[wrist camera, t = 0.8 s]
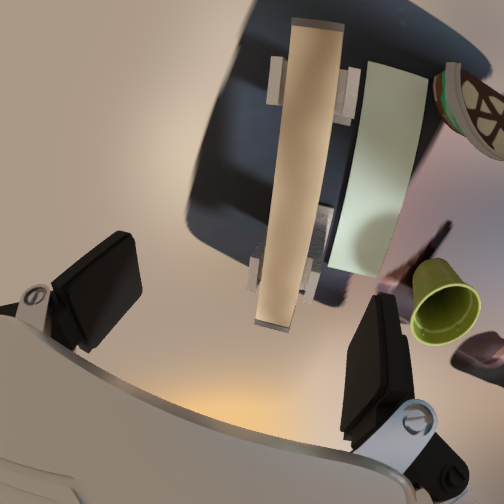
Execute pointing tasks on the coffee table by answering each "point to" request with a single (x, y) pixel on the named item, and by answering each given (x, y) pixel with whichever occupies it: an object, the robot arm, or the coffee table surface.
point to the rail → (299, 165)
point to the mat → (379, 168)
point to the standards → (312, 269)
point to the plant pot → (441, 304)
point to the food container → (471, 109)
